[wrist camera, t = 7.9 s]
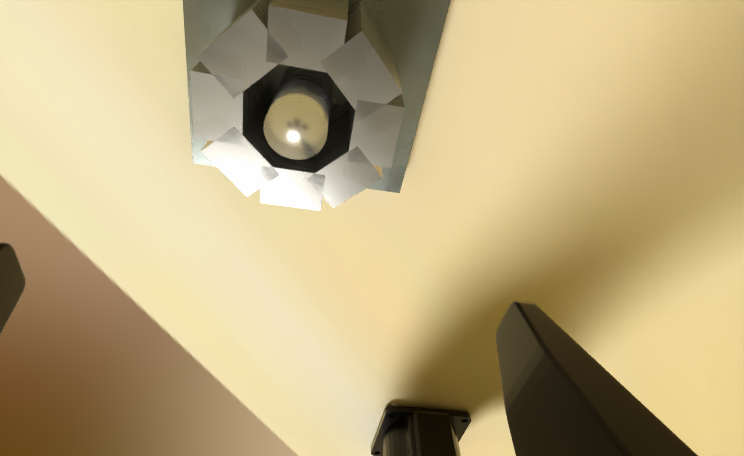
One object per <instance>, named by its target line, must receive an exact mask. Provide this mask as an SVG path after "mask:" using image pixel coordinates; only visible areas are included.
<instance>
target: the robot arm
mask: <svg viewBox="0 0 744 456" xmlns="http://www.w3.org/2000/svg"><path fill="white" fill-rule="evenodd" d="M24 288H25V276H24V273H23V270H22V268H21V265H20V263H19V260H18V257H17V255H16V252H15V250H14V248H13V247H12V246H11V245H10V244H9V243H5V242H0V335H1V333H2V331H3V329H4V327H5V326H6V324H7V322H8V320H9V318H10V316H11V314H12V312H13V310H14V308H15V306H16V305H17V303H18V301H19V299H20V297H21V295H22V293H23V291H24ZM496 343H497V351H498V358H499V366H500V374H501V381H502V389H503V397H504V404H505V410H506V415H507V420H508V424H509V429H510V433H511V437H512V441H513V445H514V449H515V453H516V456H698V455H697V454H696V453H694V452H693V451H692V450H691V449H690V448H689V447H688V446H687V445H686V444H685V443H684V442H683V441H682V440H681V439H679V438H678V437H677V436H676V435H675V434H674V433H673V432H672V431H671V430H670V429H669V428H668V427H667V426H666V425H664V424H663V423H662V422H661V421H660V420H659V419H658V418H657V417H656V416H655V415H654V414H653V413H652V412H650V411H649V410H648V409H647V408H646V407H645V406H644V405H643V404H642V403H641V402H640V401H639V400H638V399H637V398H635V397H634V396H633V395H632V394H631V393H630V392H629V391H628V390H627V389H626V388H625V387H624V386H623V385H622V384H620V383H619V382H618V381H617V380H616V379H615V378H614V377H613V376H612V375H611V374H610V373H609V372H608V371H606V370H605V369H604V368H603V367H602V366H601V365H600V364H599V363H598V362H597V361H596V360H595V359H594V358H593V357H591V356H590V355H589V354H588V353H587V352H586V351H585V350H584V349H583V348H582V347H581V346H580V345H579V344H578V343H576V342H575V341H574V340H573V339H572V338H571V337H570V336H569V335H568V334H567V333H566V332H565V331H564V330H562V329H561V328H560V327H559V326H558V325H557V324H556V323H555V322H554V321H553V320H552V319H551V318H550V317H549V316H547V315H546V314H545V313H544V312H543V311H542V310H541V309H540V308H539V307H538V306H537V305H535V304H534V303H530V302H521V301H514V302H512V303H511V304H510V305H509V307H508V309H507V311H506V313H505V315H504V317H503V318H502V320H501V322H500V324H499V326H498V328H497V332H496ZM470 422H471V416H470V413H468V412H459V411H446V410H433V409H420V408H406V407H393V406H392V407H387V408H386V409H385V411H384V413H383V416H382V419H381V422H380V424H379V427H378V430H377V432H376V435H375V438H374V441H373V443H372V446H371V454H372V455H374V456H461V454H460V449H459V444H458V442H459V441H460V439H461V437H462V436H463V434H464V432H465V430H466V429H467V427H468V425H469V424H470Z"/></svg>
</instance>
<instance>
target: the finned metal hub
mask: <svg viewBox="0 0 744 456" xmlns="http://www.w3.org/2000/svg"><path fill="white" fill-rule="evenodd" d="M256 1H257V0H183V12H184V28H185V44H186V60H187V76H188V93H189V109H190V125H191V141H192V158H193V163H196V164H203V165H210V166H215V165H214V164H213V163H212V162H211V161H210V160H209V159H208V158H207V157H206V156H205V155H204V154H203V153H202V152H201V150H202V149H203V147H204V145H205V144H206V142H207V141H208V140H204V139H198V138H194V126H193V108H192V91H191V73H190V71H191V70H192V69H193V68H194V67H195V66H196V65H197V64H198V63H199V62H200V60H199V59H198V58H197V57H196V56H197V55H198V54H199V53H200V52H201V51H202V50H203V49H204V48H205V47H206V46H208V45H209V44H210V43H211V42H212V41H213V40H214V39H215V38H216V37H217V36H218V35H219V34H220V33H221V32H222V31H223V30H224V29H225V28H226V27H228V26H229V25H230V24H231V23H232V22H233V21H234V20H235V19H236V18H237V17H239V16H240V15H241V14H242V13H243V12H244V11H246V10H247V9H248V8H249V7H250V6H251V5H253V4H254V3H255V2H256ZM359 1H361V2H362V4H363V6H364V7H365V9H366V10H367V12H368V14H369V15H370V17H371V18H372V20H373V21H374V23H375V25H376V26H377V28H378V29H379V31H380V33H381V34H382V36H383V37H384V39H385V41H386V42H387V44H388V45H389V47H390V49H391V50H392V53H393V57H394V61H395V65H396V69H397V73H398V77H399V81H400V85H401V89H402V92H403V93H402V97H403V101H404V105H405V110H404V115H403V119H402V123H401V127H400V131H399V135H398V140H397V144H396V148H395V152H394V156H393V160H392V164H391V168H388V167H382V176H383V179H381V180H379V181H378V182H376V183H374V184H373V185H371V186H369V187H368V189H375V190H382V191H389V192H396V193H400V189H401V185H402V182H403V178H404V174H405V170H406V167H407V163H408V159H409V155H410V151H411V148H412V144H413V140H414V136H415V133H416V129H417V125H418V121H419V117H420V114H421V110H422V106H423V102H424V99H425V95H426V91H427V87H428V83H429V80H430V76H431V72H432V68H433V64H434V61H435V57H436V53H437V49H438V46H439V42H440V38H441V34H442V30H443V27H444V23H445V19H446V15H447V12H448V8H449V4H450V0H349V4H348V10H349V9H350V8H351V7H353V6H354V5H355V4H357V3H358V2H359ZM267 86H268V87H269V88H270V89H271V91H272V92H273V93H274V94H275V96H274V99H273V101H272V103H271V106H270V108H269V110H268V113H267V115H266V118H265V121H264V135H265V138H266V140H267V142H268V144H269V145H270V146H271V148H272V149H273V150H274V151H276V152H277V153H278V154H280V155H281V156H284V157H286V158H289V159H295V160H302V159H307V158H310V157H312V156H314V155H316V154H317V153H318V152H319V151H320V150H321V149H322V148H323V146H324V144H325V142H326V139H327V132H328V124H329V115H330V113H331V112H332V111H334V110H335V109H337V108H338V107H340V106H341V105H342V104H344V103H345V102H347V101H348V100H347V98H346V97H345V96H344V94H343V93H342V92H341V90H340V89H339V88H338V86H337V85H336V84H335V82H334V81H333V80H332V78H331V77H330V75H329V74H328V73H326V72H321V71H315V70H309V69H304V68H298V67H293V66H287V65H282V64H278V65H277V66H276V67H274V68H273V69H272V70H270V71H269V72H268V73H267Z"/></svg>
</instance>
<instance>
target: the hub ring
mask: <svg viewBox="0 0 744 456" xmlns="http://www.w3.org/2000/svg"><path fill="white" fill-rule="evenodd" d="M348 4H349V0H257V1H256V2H255V3H254V4H253V5H251V6H250V7H249V8H248V9H247V10H246V11H244V12H243V13H242V14H241V15H240V16H239V17H237V18H236V19H235V20H234V21H233V22H232V23H231V24H230V25H229V26H228V27H226V28H225V29H224V30H223V31H222V32H221V33H220V34H219V35H218V36H217V37H216V38H215V39H214V40H213V41H212V42H211V43H210V44H209V45H208V46H206V47H205V48H204V49H203V50H202V51H201V52H200V53H199V54H198V55H197V56H196V57H197V58H198V59H199V60H200V62H199V63H198V64H197V65H196V66H195V67H194V68H193V69H192V70H191V71H190V73H191V91H192V108H193V126H194V138H198V139H204V140H208V141H207V142H206V144H205V145H204V147H203V149H202V150H201V152H202V153H203V154H204V155H205V156H206V157H207V158H208V159H209V160H210V161H211V162H212V163H213V164H214V165H215V166H216V167H217V168H218V169H219V170H221V171H222V172H223V173H224V174H225V175H226V176H227V177H228V178H229V179H230V180H231V181H232V182H233V183H234V184H235V185H236V186H237V187H238V188H239V189H240V190H241V191H242V192H243V193H244V194H245V195H246V196H247V197H248V196H249V195H251V194H252V193H254V192H255V191H257V190H258V189H259V188H261V192H260V203H266V204H273V205H281V206H288V207H295V208H303V209H310V210H318V211H320V210H321V203H322V197H323V198H324V199H325V200H326V201H327V202H328V203H329V204H330V205H331V207H332V208H335V207H336V206H338V205H340V204H341V203H343V202H345V201H346V200H348V199H350V198H351V197H353V196H354V195H356V194H358V193H359V192H361V191H363V190H364V189H366V188H368V187H369V186H371V185H373V184H374V183H376V182H378V181H379V180H381V179H383V176H382V167H388V168H391V164H392V160H393V156H394V152H395V148H396V144H397V140H398V135H399V131H400V127H401V123H402V119H403V115H404V110H405V105H404V101H403V97H402V93H403V92H402V89H401V85H400V81H399V77H398V73H397V69H396V65H395V61H394V57H393V53H392V50H391V49H390V47H389V45H388V44H387V42H386V41H385V39H384V37H383V36H382V34H381V33H380V31H379V29H378V28H377V26H376V25H375V23H374V21H373V20H372V18H371V17H370V15H369V14H368V12H367V10H366V9H365V7H364V6H363V4H362V2H361V1H359V2H358V3H357V4H355V5H354V6H353V7H351V8H350V9H349V10H348ZM278 64H282V65H287V66H293V67H298V68H304V69H309V70H315V71H321V72H326V73H328V74H329V75H330V77H331V78H332V80H333V81H334V82H335V84H336V85H337V86H338V88H339V89H340V90H341V92H342V93H343V94H344V96H345V97H346V98H347V100H348V101H347V102H345V103H344V104H342V105H341V106H340V107H338V108H337V109H335V110H334V111H332V112H331V113H330V115H329V124H328V132H327V139H326V142H325V144H324V146H323V148H322V149H321V150H320V151H319V152H318V153H317V154H316V155H314V156H312V157H310V158H307V159H302V160H295V159H289V158H286V157H284V156H281V155H280V154H278V153H277V152H276V151H274V150H273V149H272V148H271V146H270V145H269V144H268V142H267V140H266V138H265V135H264V121H265V118H266V115H267V113H268V110H269V108H270V106H271V103H272V101H273V99H274V96H275V94H274V93H273V92H272V91H271V89H270V88H269V87H268V86H267V73H268V72H269V71H270V70H272V69H273V68H274V67H276V66H277V65H278Z"/></svg>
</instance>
